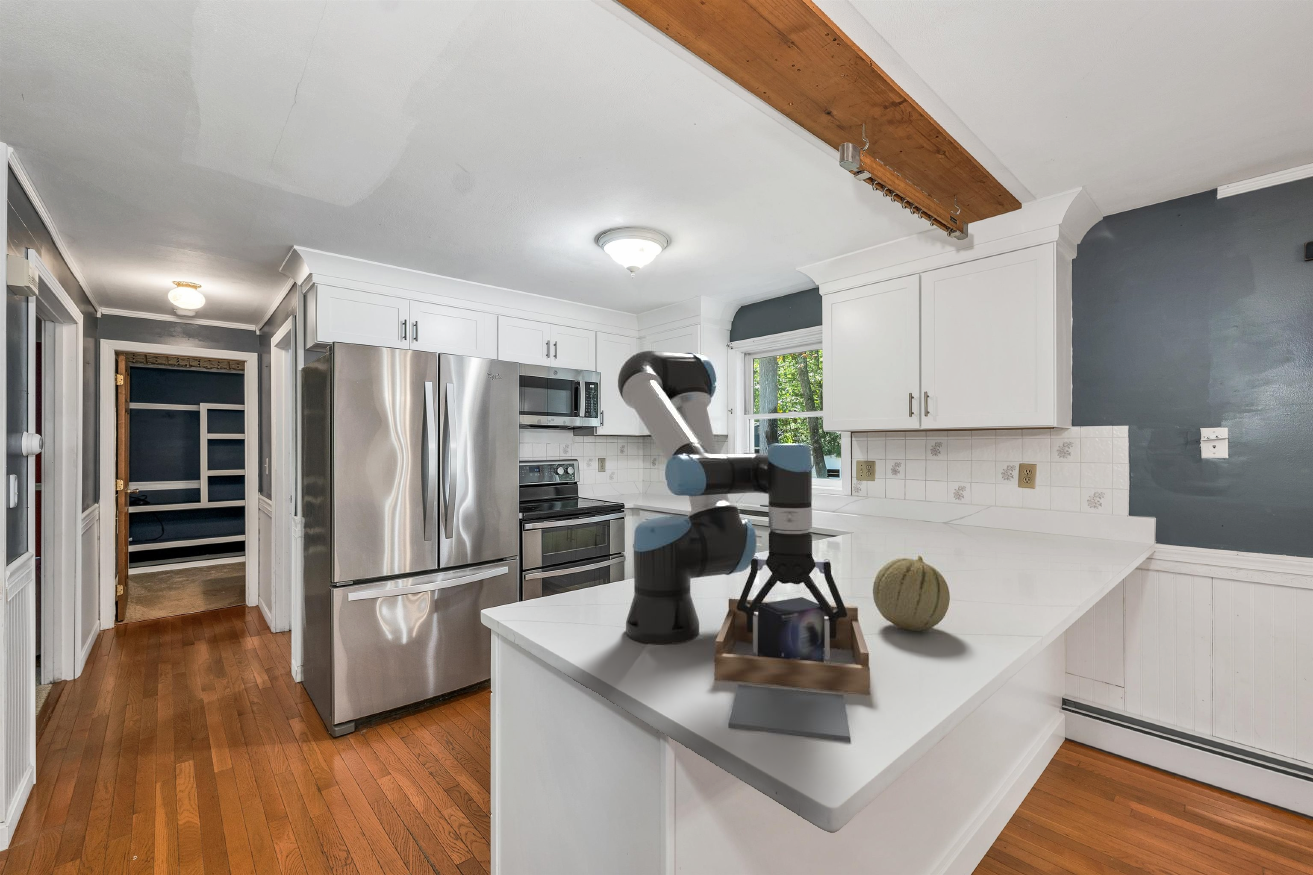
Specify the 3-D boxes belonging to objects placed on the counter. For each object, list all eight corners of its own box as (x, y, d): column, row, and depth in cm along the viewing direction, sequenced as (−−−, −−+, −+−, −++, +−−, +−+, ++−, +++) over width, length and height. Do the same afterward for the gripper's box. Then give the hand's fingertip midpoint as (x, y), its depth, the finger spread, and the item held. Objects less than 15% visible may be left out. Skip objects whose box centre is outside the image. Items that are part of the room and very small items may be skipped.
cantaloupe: (860, 628, 121) (860, 556, 121) (890, 613, 131) (890, 547, 131) (934, 646, 111) (933, 567, 111) (960, 628, 121) (960, 556, 121)
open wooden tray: (714, 679, 96) (714, 631, 96) (729, 638, 115) (729, 598, 115) (870, 694, 90) (869, 642, 90) (857, 648, 109) (857, 606, 110)
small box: (779, 675, 97) (779, 612, 97) (755, 662, 103) (755, 603, 103) (826, 664, 102) (826, 604, 102) (801, 652, 108) (801, 595, 108)
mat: (728, 727, 80) (728, 722, 80) (738, 687, 92) (738, 684, 92) (850, 741, 76) (850, 736, 76) (843, 698, 88) (843, 694, 88)
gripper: (720, 531, 102) (720, 655, 102) (863, 535, 96) (864, 667, 96) (725, 525, 109) (726, 640, 109) (859, 529, 103) (860, 651, 103)
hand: (790, 653), depth 102 cm, fingers closed on small box, 11 cm apart
